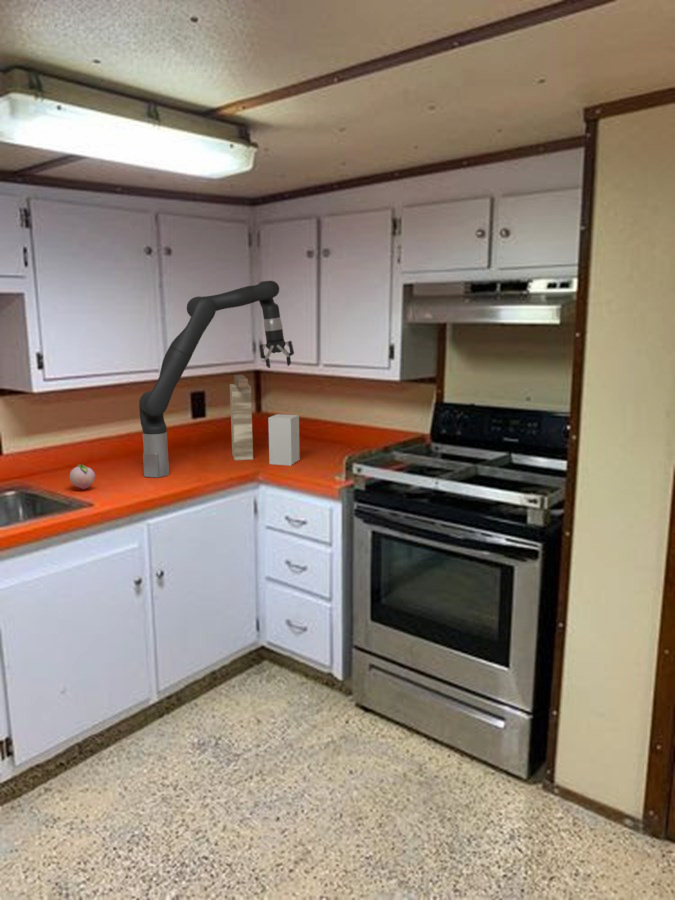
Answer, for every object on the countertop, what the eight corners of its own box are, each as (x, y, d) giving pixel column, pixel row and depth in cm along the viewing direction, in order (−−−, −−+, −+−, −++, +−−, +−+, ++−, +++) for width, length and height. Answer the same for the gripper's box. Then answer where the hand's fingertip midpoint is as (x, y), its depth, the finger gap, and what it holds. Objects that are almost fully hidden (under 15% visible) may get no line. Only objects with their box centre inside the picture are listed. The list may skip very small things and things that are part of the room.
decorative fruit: (66, 489, 252) (64, 463, 250) (87, 485, 258) (85, 459, 256) (77, 494, 246) (75, 467, 244) (99, 490, 252) (97, 463, 250)
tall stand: (253, 459, 302) (250, 386, 295) (234, 460, 300) (232, 387, 293) (250, 453, 313) (247, 383, 307) (232, 454, 311) (229, 384, 305)
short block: (291, 465, 290) (290, 418, 286) (269, 464, 292) (268, 417, 288) (299, 460, 299) (298, 415, 295) (278, 459, 302) (277, 414, 298)
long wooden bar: (248, 388, 287) (247, 379, 286) (238, 389, 286) (238, 379, 285) (243, 383, 307) (242, 374, 306) (234, 383, 306) (233, 374, 305)
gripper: (255, 331, 289) (261, 369, 293) (288, 327, 287) (294, 366, 292) (258, 329, 296) (264, 367, 300) (291, 326, 294) (296, 363, 299)
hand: (279, 366), depth 296 cm, fingers open, 8 cm apart
